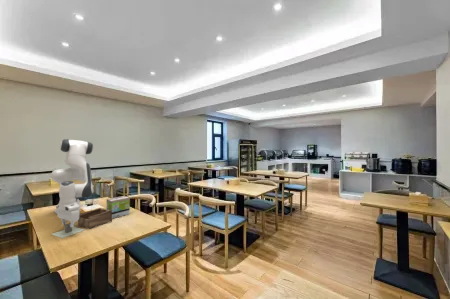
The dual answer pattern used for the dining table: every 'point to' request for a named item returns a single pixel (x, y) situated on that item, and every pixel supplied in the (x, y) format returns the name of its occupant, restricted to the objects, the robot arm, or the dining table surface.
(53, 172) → the robot arm
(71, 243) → the dining table surface
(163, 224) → the dining table surface
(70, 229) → the lid
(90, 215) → the caddy
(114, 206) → the tea box
